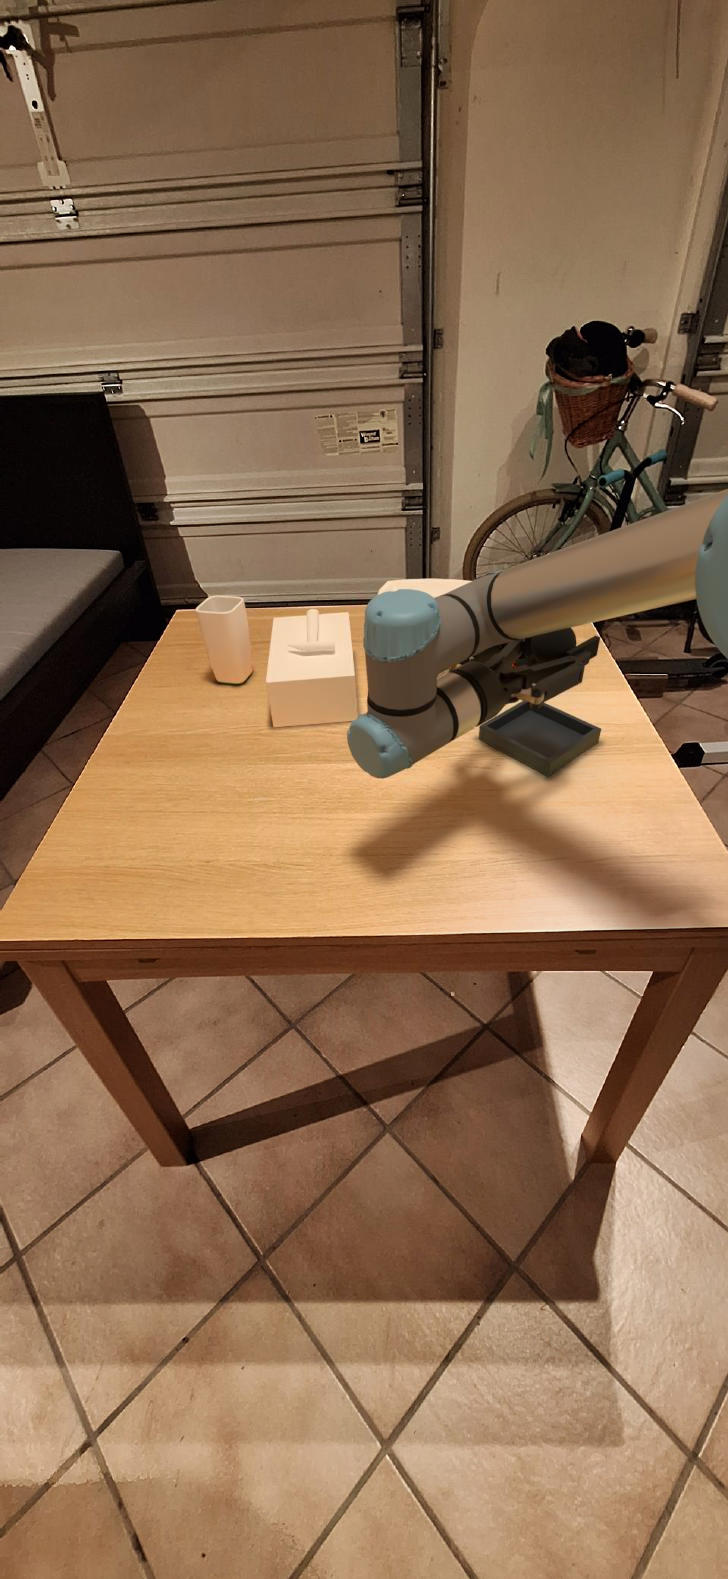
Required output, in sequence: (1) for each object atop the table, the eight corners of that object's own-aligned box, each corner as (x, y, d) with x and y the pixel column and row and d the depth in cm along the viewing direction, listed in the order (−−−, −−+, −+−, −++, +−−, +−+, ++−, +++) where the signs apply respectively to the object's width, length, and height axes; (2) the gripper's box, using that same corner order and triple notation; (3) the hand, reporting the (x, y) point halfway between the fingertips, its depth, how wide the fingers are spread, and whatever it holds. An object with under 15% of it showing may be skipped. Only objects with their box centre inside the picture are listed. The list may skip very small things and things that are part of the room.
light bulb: (576, 694, 87) (589, 627, 81) (540, 704, 86) (549, 636, 80) (552, 675, 92) (562, 610, 85) (517, 684, 90) (524, 618, 84)
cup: (226, 667, 125) (210, 594, 116) (259, 670, 123) (246, 596, 114) (209, 685, 120) (191, 611, 110) (244, 689, 118) (229, 613, 108)
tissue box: (273, 727, 107) (263, 669, 100) (279, 658, 127) (271, 606, 120) (358, 720, 107) (354, 662, 100) (351, 652, 127) (347, 600, 120)
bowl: (371, 694, 114) (367, 621, 105) (385, 645, 129) (382, 577, 120) (476, 697, 111) (481, 623, 102) (478, 647, 126) (482, 578, 117)
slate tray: (598, 742, 99) (601, 728, 97) (548, 777, 93) (550, 762, 91) (528, 709, 107) (530, 696, 106) (478, 739, 101) (479, 725, 100)
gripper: (407, 698, 85) (518, 641, 96) (519, 758, 73) (631, 685, 84) (406, 647, 80) (523, 593, 91) (526, 702, 68) (644, 633, 79)
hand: (575, 638), depth 87 cm, fingers closed on light bulb, 6 cm apart
